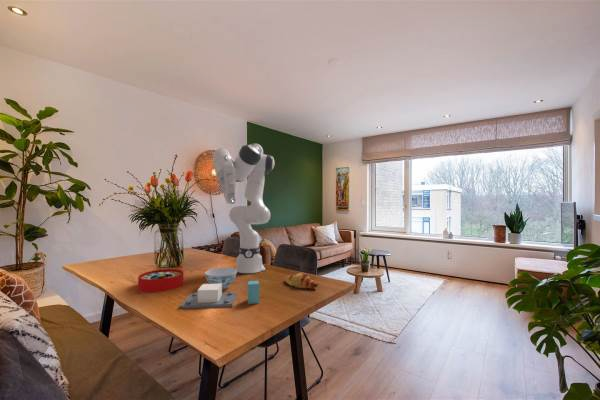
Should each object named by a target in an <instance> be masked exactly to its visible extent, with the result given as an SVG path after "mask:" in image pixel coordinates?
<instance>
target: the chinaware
mask: <svg viewBox="0 0 600 400" xmlns="http://www.w3.org/2000/svg"><path fill="white" fill-rule="evenodd" d="M234 268H235V267H234ZM234 268H233V267H216V268H211V269H208V270H206V271H204V275H205V278H206V281H207V282H208V284H222V290H226V289H228V288H229V285H231V284H232V283H233V282H234V280H235V278H236V276H237V273H238V272H237V270H236V269H234Z"/></svg>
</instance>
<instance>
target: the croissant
mask: <svg viewBox="0 0 600 400" xmlns="http://www.w3.org/2000/svg"><path fill="white" fill-rule="evenodd" d="M284 281H285V282H286V283H287V284H288V285H289V286H290V287H293V286H295V287H294V288H297V287H298V288H297V289H307V288H309V290H310V289H314V288H317V287H318V286H319V285H318V284H319V283H318V282H316V281H315V280H313V279H312V278H311V276H309V275H308V273H305V272H299V273H292V274H288V275H287V276H285V277H284Z"/></svg>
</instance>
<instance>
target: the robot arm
mask: <svg viewBox="0 0 600 400" xmlns="http://www.w3.org/2000/svg"><path fill="white" fill-rule="evenodd" d="M212 164H213V167H214V173H215V176H216V179H217V181H218V184H219V189H220V192H222V193H223V197H224V199H225V202H226V204H227V205H228V204H229V205H234V204H236V203H237V202H236V201H237V199H236V184H237V183H239V182H240V183H241V182H245V181H246V184H245V185H246V186H245V190H244V197H245V199H246V200H247V201H248V202H250V205H237V206H233V207H231V209H230V210H229V213H228V217H229V220H230V221H231V222H232V223H233V224H234V225H235V227H236V228H237V230H238V234H239V243H240V244H239V246H240V247H239V255H238V256H236V267H234V269H236V270H237V273H241V274H254V273H255V274H256V273H259V272H264V271H266V268H265V267H266V266H264V264H263V257H262V255H261V254H260V252H261V251H260V249H261V248H260V240H259V239H260V235H259V233H258V232H257V231H256V230H254V229H253V228H252V225H262V224H263V225H264V224H267V223H268V222H269V221H270V219H271V211H270V209H269V208H268V207H267V206H266V205H265V203H264V199H263V195H264V189H265V188H264V187H265V175H266V176H267V175H268V174H269V173H271V172H272V171H273V169H274V167H275V164H276V162H275V158H274V156H273V155H270V154H265V153H264V149H263V147H262V146H261V145H260V144H259V143H254V142H253V143H251V144H245V145H242V146H241V148H240V150H239V151H238V153H237V154H236V157H232V155H231V153H230V152H229V150H228V149H226V148H224V147H223V148H218V149H216V150H215V151H214V152H213V154H212ZM246 179H247V180H246Z"/></svg>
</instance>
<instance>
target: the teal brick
mask: <svg viewBox="0 0 600 400" xmlns="http://www.w3.org/2000/svg"><path fill="white" fill-rule="evenodd" d="M247 304H248V305H252V304H260V281H259V280H249V281H248V280H247Z"/></svg>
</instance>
